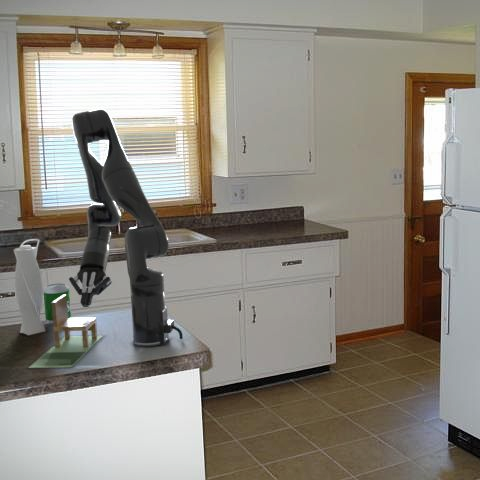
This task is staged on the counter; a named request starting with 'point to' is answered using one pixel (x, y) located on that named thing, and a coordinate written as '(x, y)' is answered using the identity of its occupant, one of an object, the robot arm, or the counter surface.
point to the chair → (70, 323)
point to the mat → (65, 353)
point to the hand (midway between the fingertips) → (85, 305)
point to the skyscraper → (29, 288)
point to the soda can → (51, 295)
